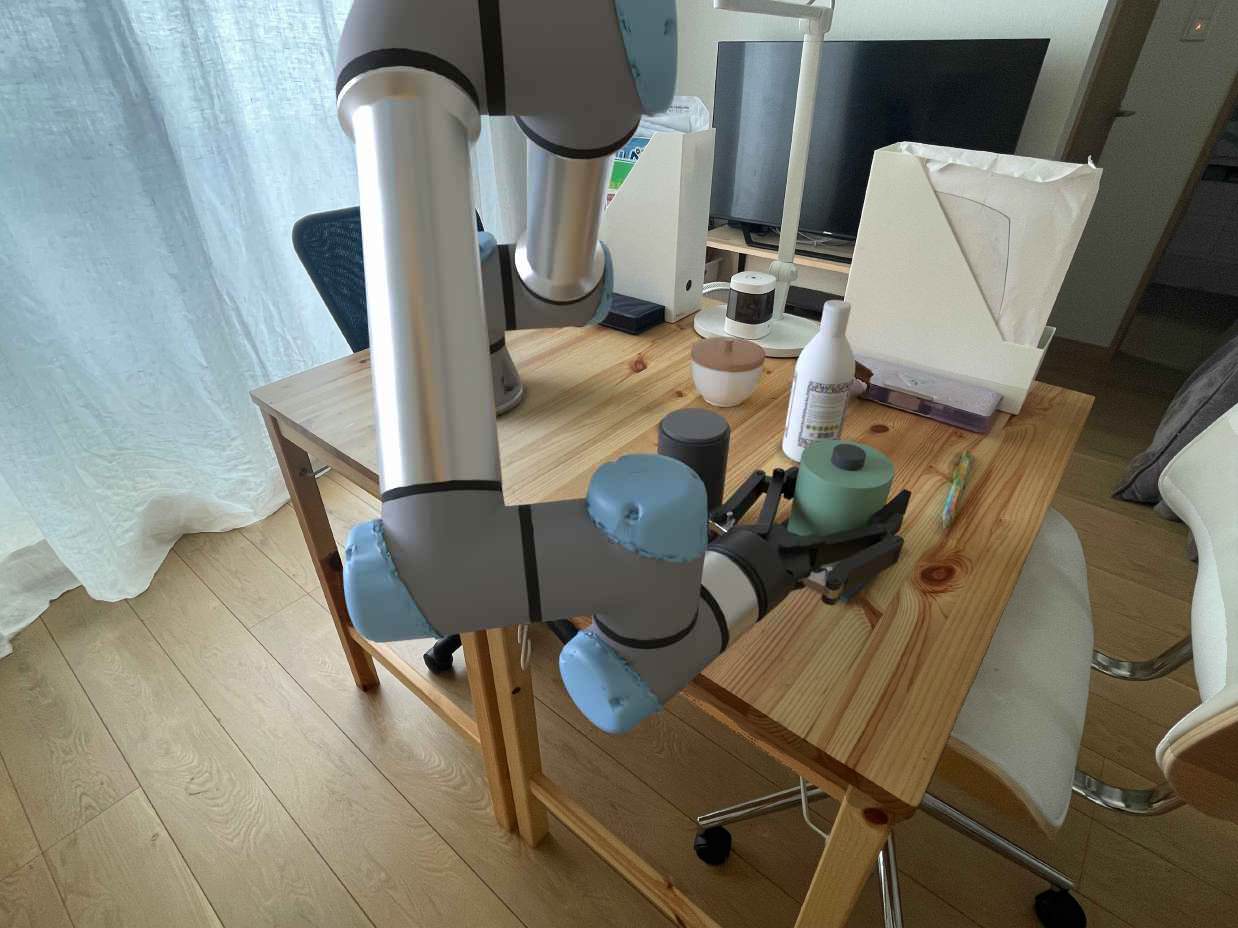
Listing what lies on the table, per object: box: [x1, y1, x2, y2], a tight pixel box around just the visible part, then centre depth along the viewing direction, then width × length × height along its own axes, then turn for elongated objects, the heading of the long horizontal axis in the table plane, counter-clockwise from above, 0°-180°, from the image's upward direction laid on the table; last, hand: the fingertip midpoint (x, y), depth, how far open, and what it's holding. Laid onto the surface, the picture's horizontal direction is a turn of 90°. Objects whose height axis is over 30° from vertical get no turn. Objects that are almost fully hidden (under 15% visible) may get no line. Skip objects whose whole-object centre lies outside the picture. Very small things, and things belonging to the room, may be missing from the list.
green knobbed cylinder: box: [787, 439, 896, 569], centre depth 63 cm, size 9×9×11 cm
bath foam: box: [781, 299, 856, 464], centre depth 77 cm, size 7×7×20 cm
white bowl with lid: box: [690, 336, 766, 408], centre depth 93 cm, size 11×11×9 cm
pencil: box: [941, 450, 974, 530], centre depth 75 cm, size 1×1×18 cm
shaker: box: [656, 407, 732, 545], centre depth 66 cm, size 8×8×13 cm
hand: (861, 482), depth 66 cm, fingers closed on green knobbed cylinder, 9 cm apart
